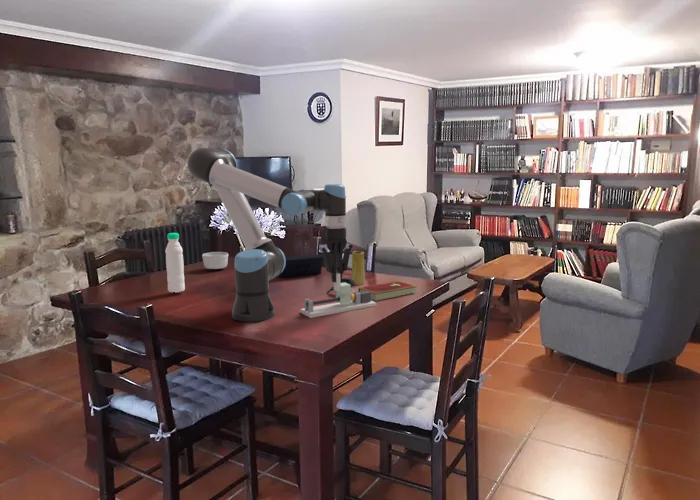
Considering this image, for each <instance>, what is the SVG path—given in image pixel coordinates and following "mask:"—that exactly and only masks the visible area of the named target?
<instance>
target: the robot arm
mask: <svg viewBox="0 0 700 500" xmlns="http://www.w3.org/2000/svg"><path fill="white" fill-rule="evenodd" d="M237 167H238V163H237V158H236V157H235V156H234V154H233V153H232V152H231V151H229V150H227V149H225V148H221V147H212V148H211V147H199V148H198V149H195V150H193V151H192V152H191V153H190V155H189V157H188V159H187V168H188V171H189V173H190V174H191V176H192V177H193V178H195V179H196V180H199V181H202V182H204V183H207V184H208V186H209V187H210V189H211V190H213V191H216V193H217V194H218V196H219V198H220V200H221V202H222V204H223V206H224V208H225V210H226V211H227V214H228V216H229V218H230V220H231V221H232V222H231V223H233V225H234V228H235V230H236V232H237V233H238V235H239V237H240V239H241V241H242V243H243V245H244V247H245V249H244V250H242V251H240V252H238V253H237V254H236V255H235V257H234V265H233V266H234V276H235V278H234V280H235V299H234V303H233V307H232V310H231V316H232V317H231V318H232V319H233V320H235V321H237V320H238V322H245V323H249V322H250V323H251V322H252V323H253V322H261V321H263V322H264V321H266V320H269V319H271V318H273V317H275V315H276V314H275V307H274V304H273V302H272V299H271V296H270V292H269V291H270V289H269V288H270V286H269V285H270V284H269V281H271V280H272V279H273V280H274V279H275V278H277V277H278V275H279V274H280V273H281V272H282V271H283V270H284V268H285V264H286V259H285V257H286V256H285V253H284V252H283V251H282V249H280V248H279V247H277V246H275V243H274V242H273V240H272V239H271V238H268V237H266V235H265V233H264V230H263V228H262V227H261V225H260V222H259V221H258V219H257V216H256V215H255V213H254V211H253V209H252V206H251V205H250V203H249V201H248V199H247V197H246V196H248V197H250V198H254V199H256V200H258V201H260V202H263V203H265V204H268V205H271V206H274V207H276V208H279V209H281V210H282V211H284V213H286V215H289V216H299V215H301V214H304V213H307V212H311V211H312V212H313V211H315V212H317V211H318V212H319V211H320V212H322V211H324V213H325V214H324V216H325V218H324V222H325V223H324V225H325V243H324V245H323V246H320V247H319V251H320V252H321V254H322V255H323V264H324V266H325V270H326V272H327V273H330V275H331V282H332V283H333V286H334V290H333V291H335V292H336V291H341V282H340V281H342V279H343V274H344V272H346V271H348V267H349V266H348V265H349V260H350V257H351V256H350V255H351V251H352V249H353V246H354V245H352V244H350V243H348V241H347V227H346V226H347V214H346V211H347V207H346V205H347V204H346V203H347V202H346V201H347V199H346V198H347V196H346V187H345V185H344V184H342V183H340V184H338V183H333V184H331V183H330V184H325V185H324V188H323V189H320V190H319V189H296V190H294V189H291V188H289V187H287V186H284V185H282V184H279V183H276V182H274V181H271V180H269V179H266V178H263V177H262V176H261V177H260V176H258V175H256V174H253V173H251V172H248V171H245V170H243V169H240V168H237ZM328 251H329V253H328Z"/></svg>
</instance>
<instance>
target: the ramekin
mask: <svg viewBox="0 0 700 500" xmlns="http://www.w3.org/2000/svg"><path fill="white" fill-rule="evenodd" d="M201 256H202V262H203V267H204V268H205V269H207V270H219V269H224V268H227V266H228V262H229V261H228V260H229V253H228V252H224V251H211V252H206V253H205V252H204V253H203V254H202V255H201Z"/></svg>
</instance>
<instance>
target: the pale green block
mask: <svg viewBox="0 0 700 500" xmlns="http://www.w3.org/2000/svg"><path fill="white" fill-rule="evenodd" d="M351 294H352V293H351V285H350V284H348V283H345V282H344V283H341V291H335V298H340V301H335V303H339V302H340V304H348V303H351Z"/></svg>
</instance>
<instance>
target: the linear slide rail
mask: <svg viewBox="0 0 700 500" xmlns="http://www.w3.org/2000/svg"><path fill="white" fill-rule="evenodd" d="M336 301H340V298H336V297H335V298H329V299H328V298H327V299H323V300H322V299H321V300H316V301H314V300H311V299H310V298H304V307H303V308H300V313H301V314H302V315H304V316H305V317H308V318H309V319H313V318H318V317H323V316H328V315H329V316H330V315H335V314H339V313H344V312H350V311H355V310H360V309H366V308H371V307H377V301H376V302H375V301H374V300H372V299H371V292H368V291H362V292H357V291H356V290H355V292H352V293H351V303H348V304H340V302H338V303H337V302H336ZM315 305H316V306H315Z"/></svg>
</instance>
